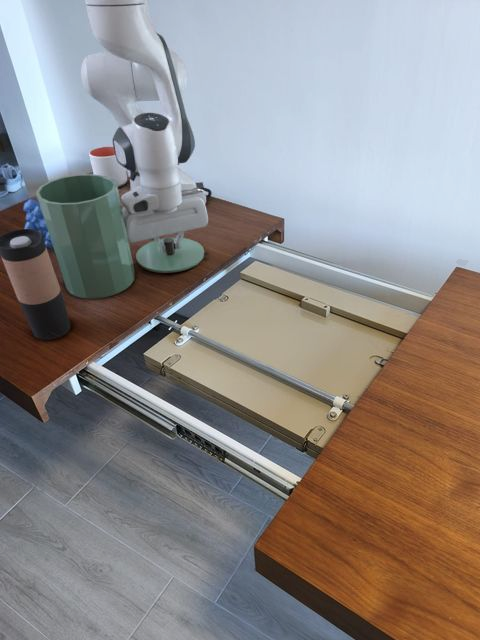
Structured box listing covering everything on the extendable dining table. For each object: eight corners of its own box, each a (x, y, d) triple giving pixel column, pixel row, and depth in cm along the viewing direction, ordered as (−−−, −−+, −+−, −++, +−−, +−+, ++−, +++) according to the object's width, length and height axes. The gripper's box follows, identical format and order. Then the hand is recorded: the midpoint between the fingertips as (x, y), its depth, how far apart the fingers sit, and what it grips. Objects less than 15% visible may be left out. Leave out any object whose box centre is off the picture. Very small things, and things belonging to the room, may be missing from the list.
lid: (190, 236, 125) (188, 219, 122) (214, 264, 114) (213, 247, 110) (128, 250, 119) (125, 233, 116) (148, 281, 108) (145, 263, 105)
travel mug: (31, 322, 96) (-5, 232, 83) (70, 314, 99) (41, 225, 86) (32, 344, 91) (-6, 252, 78) (73, 335, 93) (43, 244, 80)
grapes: (21, 244, 121) (4, 199, 114) (45, 235, 125) (31, 191, 117) (43, 260, 115) (27, 213, 108) (68, 250, 119) (55, 204, 111)
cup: (120, 190, 148) (113, 158, 141) (90, 188, 149) (82, 155, 143) (132, 179, 155) (127, 147, 149) (104, 176, 157) (98, 145, 150)
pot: (124, 256, 117) (105, 169, 103) (143, 287, 106) (125, 194, 92) (60, 272, 111) (31, 182, 97) (73, 305, 101) (42, 210, 87)
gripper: (199, 181, 112) (204, 235, 121) (113, 197, 104) (125, 253, 113) (210, 191, 107) (214, 245, 116) (121, 208, 100) (132, 265, 109)
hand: (169, 249), depth 115 cm, fingers closed on lid, 2 cm apart
